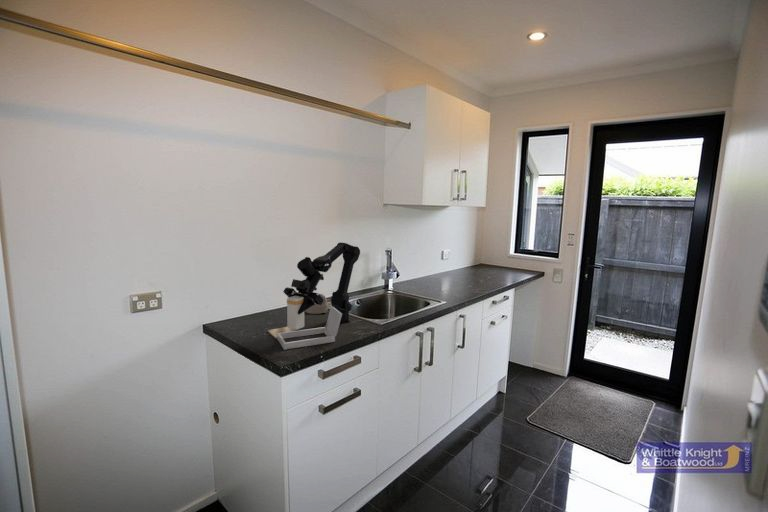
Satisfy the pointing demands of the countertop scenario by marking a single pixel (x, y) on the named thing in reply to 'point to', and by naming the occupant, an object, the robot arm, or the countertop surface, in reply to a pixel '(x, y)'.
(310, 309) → the pumice stone
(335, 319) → the grey angled frame
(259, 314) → the countertop surface
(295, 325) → the module
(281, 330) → the pad
